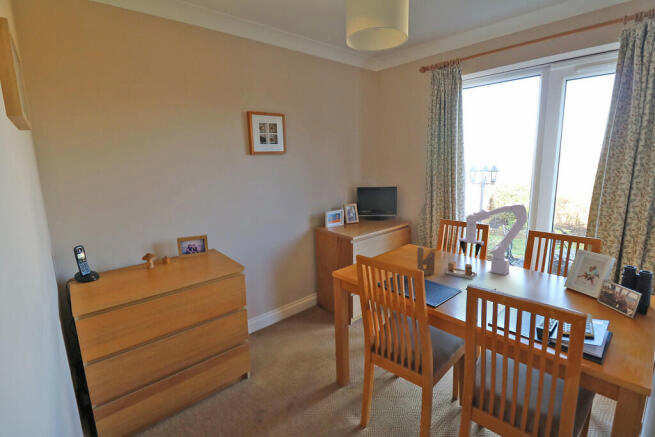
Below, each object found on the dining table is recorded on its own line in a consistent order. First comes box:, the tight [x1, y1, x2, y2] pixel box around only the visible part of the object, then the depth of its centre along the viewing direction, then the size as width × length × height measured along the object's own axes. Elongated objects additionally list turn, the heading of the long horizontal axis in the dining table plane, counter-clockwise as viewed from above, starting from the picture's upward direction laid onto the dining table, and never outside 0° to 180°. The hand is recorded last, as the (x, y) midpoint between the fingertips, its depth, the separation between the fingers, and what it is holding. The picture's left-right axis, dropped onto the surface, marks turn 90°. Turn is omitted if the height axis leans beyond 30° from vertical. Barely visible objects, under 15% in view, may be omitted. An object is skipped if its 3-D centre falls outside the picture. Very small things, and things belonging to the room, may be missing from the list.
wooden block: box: [416, 246, 436, 277], centre depth 188 cm, size 4×11×18 cm, turn 106°
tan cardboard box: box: [464, 263, 473, 276], centre depth 184 cm, size 3×4×6 cm
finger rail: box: [446, 260, 478, 280], centre depth 186 cm, size 15×8×6 cm, turn 45°
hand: (470, 254), depth 194 cm, fingers open, 7 cm apart
